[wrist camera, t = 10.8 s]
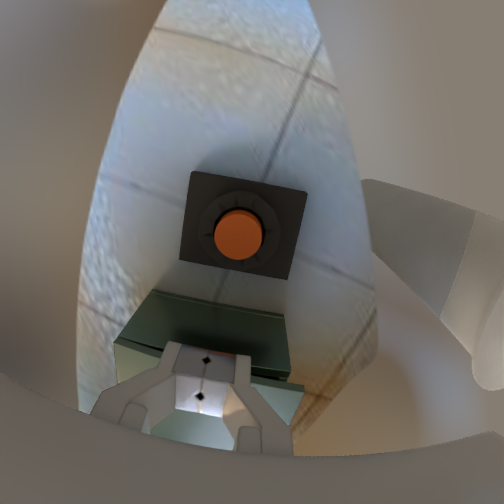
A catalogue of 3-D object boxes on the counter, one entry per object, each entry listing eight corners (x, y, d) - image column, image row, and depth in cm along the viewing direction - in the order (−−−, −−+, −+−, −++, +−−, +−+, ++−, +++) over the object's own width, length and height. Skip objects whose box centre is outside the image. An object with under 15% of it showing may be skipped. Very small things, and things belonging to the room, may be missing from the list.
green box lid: (304, 385, 20) (304, 392, 19) (269, 462, 23) (268, 468, 23) (117, 336, 21) (112, 341, 20) (127, 423, 24) (124, 429, 24)
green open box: (284, 314, 29) (291, 371, 21) (260, 393, 33) (260, 450, 25) (152, 288, 29) (117, 335, 21) (150, 371, 33) (127, 423, 24)
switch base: (305, 191, 26) (311, 196, 23) (286, 275, 28) (288, 288, 25) (193, 170, 25) (185, 173, 22) (182, 255, 28) (173, 266, 25)
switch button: (265, 214, 24) (266, 218, 22) (257, 256, 25) (256, 263, 23) (221, 206, 24) (218, 210, 22) (214, 248, 25) (211, 255, 23)
